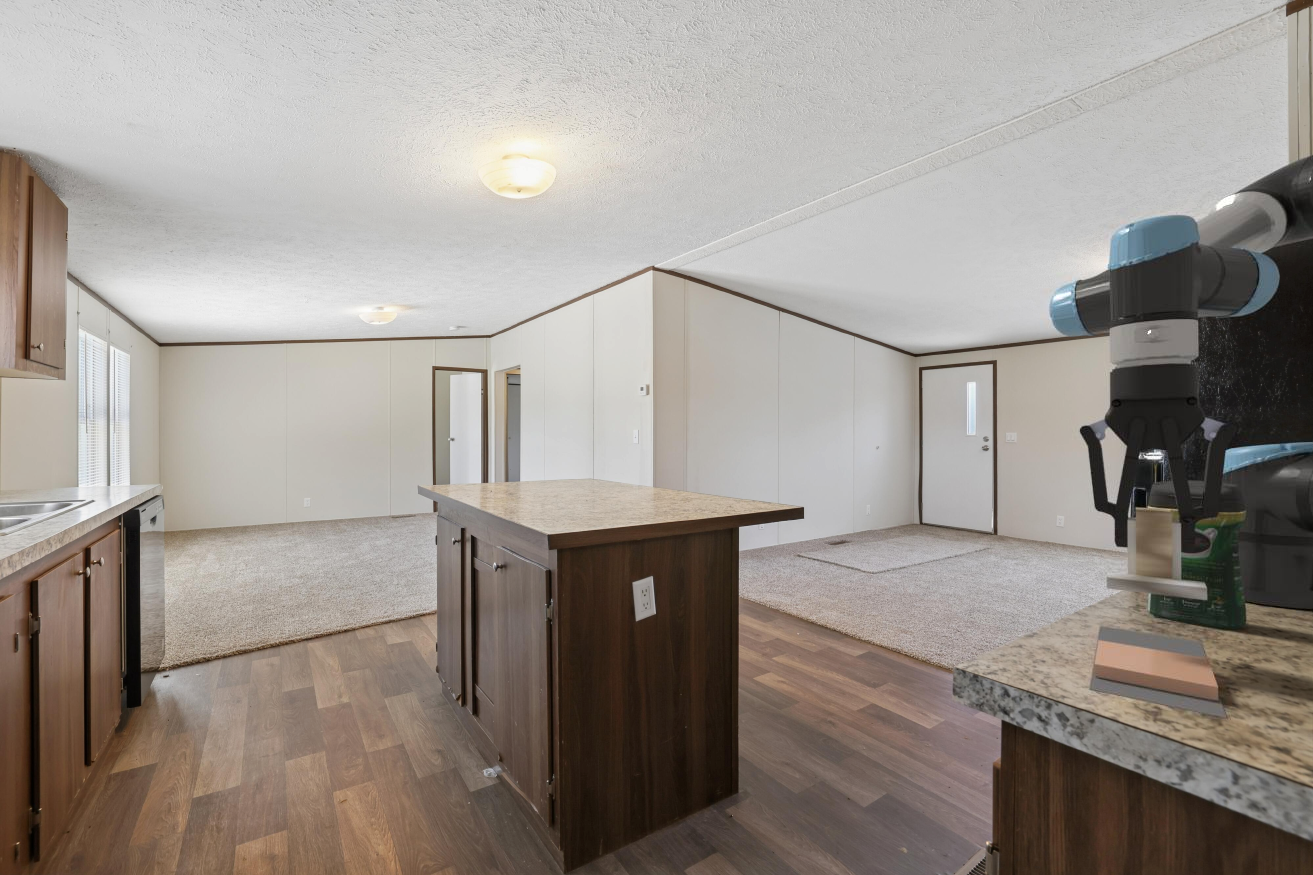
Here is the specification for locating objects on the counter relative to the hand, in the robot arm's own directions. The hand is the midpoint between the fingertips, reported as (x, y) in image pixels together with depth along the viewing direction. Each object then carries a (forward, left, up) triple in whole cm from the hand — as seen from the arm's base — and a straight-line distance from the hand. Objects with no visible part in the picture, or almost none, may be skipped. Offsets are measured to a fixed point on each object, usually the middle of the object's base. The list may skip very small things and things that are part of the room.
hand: (1153, 579), depth 67 cm
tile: (0, +3, -7) cm, 8 cm away
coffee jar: (-5, -21, -9) cm, 23 cm away
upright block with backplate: (0, +1, -1) cm, 1 cm away
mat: (0, +4, -9) cm, 9 cm away
